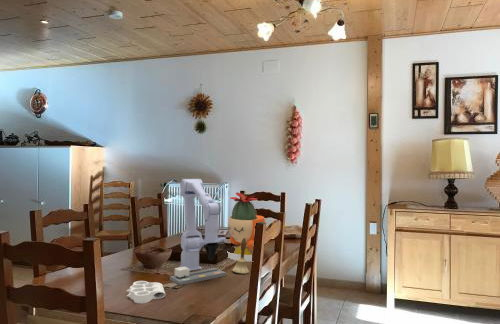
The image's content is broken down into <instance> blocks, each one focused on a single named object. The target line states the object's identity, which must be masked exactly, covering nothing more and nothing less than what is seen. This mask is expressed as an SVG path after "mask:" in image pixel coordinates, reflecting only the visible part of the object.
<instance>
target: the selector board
mask: <svg viewBox="0 0 500 324" xmlns="http://www.w3.org/2000/svg"><path fill="white" fill-rule="evenodd" d="M225 276H227V272H226V271H224V270H221V269H219V268H216V267H213V268H208V269H207V268H206V269H204V270H203V269H201V270H198V271H193V272H191V271H190V272H189V276H188V277H187V278H186V277H178V276H176V275H171V276H169V280H170V281H172V282H173V283H175V284H177V285H179V286H183V284H184V285H187V284H188V285H189V284H193V283H197V282H202V281H203V282H204V281H207V280H213V279H216V278H222V277H225Z"/></svg>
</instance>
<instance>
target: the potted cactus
mask: <svg viewBox="0 0 500 324" xmlns="http://www.w3.org/2000/svg"><path fill="white" fill-rule="evenodd" d="M235 195H236V196H237V197H235V196H234V197H233V196H232V197H229V198H230V199H231V200H233V201H234V202H235V203H234V205H233V207H232V209H231V212H230V214H231V215H230V216H229V217H228V223H227V226H228V231H229V233H230V238H229V241H230V243H231V244H233V245H235V246H233V247H234V248H235V251H234V253H230V252H228V251H227V253H228V257H227V258H228V259H229V258H230V259H229V260H232V259H233V260H232V261H236V260H238V259H240V257H241V242H242V240H243V238H245V239H246V249H245V251H244V259H245V260H246V263H247V262H248V263H249V262H253V261H252V251H253V244H254V235H255V225H256V223H258V222H264V223H265V224H266V220H265V216H262V215H258V213H257V210H256V207H255V205H254V203H253V201H257V200H258V198H254V197H255V195H254V194H253V195H250V196H246V195H245V194H243V193H241V192H235ZM236 245H238V246H236Z"/></svg>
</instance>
